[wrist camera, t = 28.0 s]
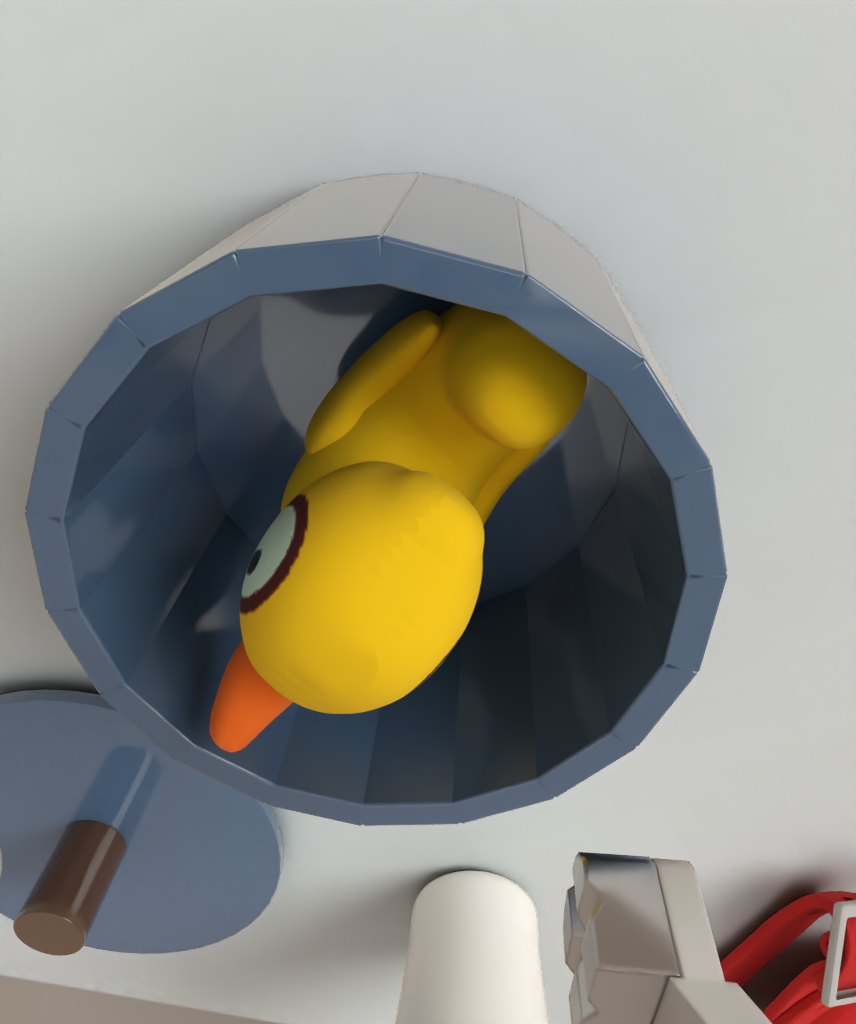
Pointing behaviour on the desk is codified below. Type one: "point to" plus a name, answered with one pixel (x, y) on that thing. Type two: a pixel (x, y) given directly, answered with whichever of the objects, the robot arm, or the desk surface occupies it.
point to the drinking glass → (473, 954)
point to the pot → (278, 448)
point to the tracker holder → (821, 986)
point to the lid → (121, 835)
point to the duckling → (390, 517)
